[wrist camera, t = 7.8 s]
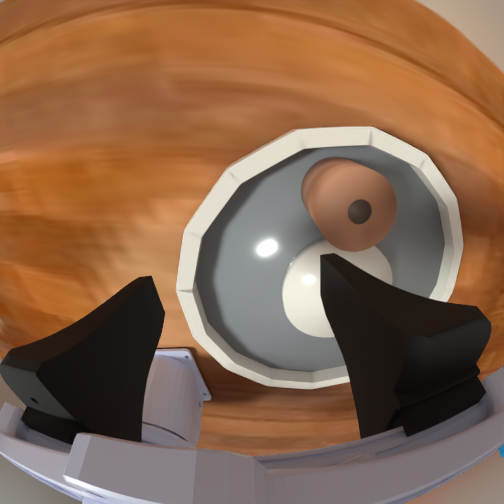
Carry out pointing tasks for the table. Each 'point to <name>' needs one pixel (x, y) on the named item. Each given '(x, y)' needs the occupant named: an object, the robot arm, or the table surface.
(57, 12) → the table surface
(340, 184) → the bead
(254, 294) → the groove tray
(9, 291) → the table surface
